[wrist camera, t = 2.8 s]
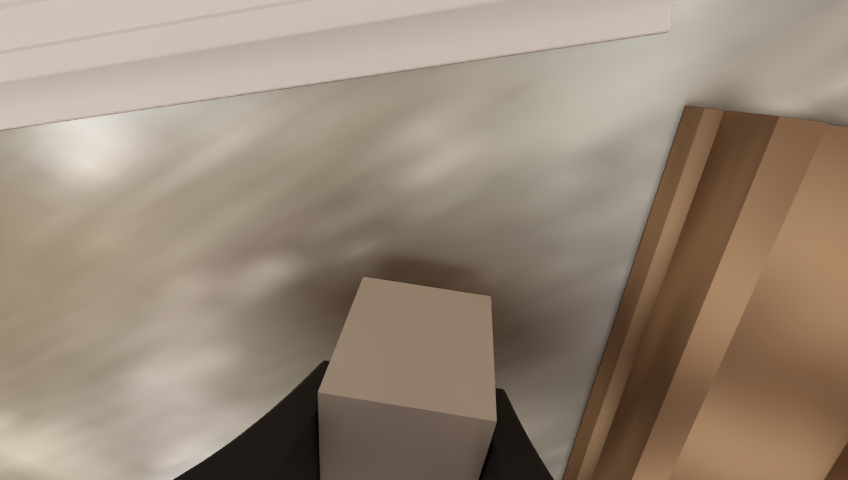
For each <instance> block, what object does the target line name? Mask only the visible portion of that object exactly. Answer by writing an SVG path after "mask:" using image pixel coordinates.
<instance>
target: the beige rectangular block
mask: <svg viewBox="0 0 848 480" xmlns="http://www.w3.org/2000/svg"><path fill="white" fill-rule="evenodd" d="M318 416H319V455H320V480H479V477H480V474H481V471H482V467H483V464H484V461H485V458H486V455H487V451H488V448H489V445H490V442H491V439H492V435H493V432H494V429H495V426H496V423H497V415H496V393H495V372H494V350H493V329H492V307H491V296H486V295H479V294H473V293H466V292H460V291H453V290H447V289H440V288H434V287H427V286H421V285H414V284H408V283H401V282H395V281H388V280H382V279H375V278H369V277H363V278H362V281H361V283H360V286H359V289H358V291H357V294H356V296H355V299H354V301H353V304H352V306H351V309H350V312H349V314H348V317H347V319H346V322H345V324H344V327H343V329H342V332H341V335H340V337H339V340H338V342H337V345H336V347H335V350H334V352H333V355H332V357H331V360H330V363H329V365H328V368H327V370H326V373H325V375H324V378H323V380H322V383H321V386H320V388H319V391H318Z"/></svg>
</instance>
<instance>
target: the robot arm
mask: <svg viewBox="0 0 848 480" xmlns="http://www.w3.org/2000/svg"><path fill="white" fill-rule="evenodd" d="M329 363H330V361H323V362H322V363H320V364H319V365H318V366H317V367H316V368H315V369H314V370H313V371H312V372H311V373H310V374H309V375H308V376H307V377H306V378H305V379H304V380H303V381H302V382H301V383H300V384H299V385H298V386H297V387H296V388H295V389H294V390H293V391H292V392H291V393H290V394H288V395H287V396H286V397H285V398H284V399H283V400H282V401H281V402H280V403H278V404H277V405H276V406H275V407H274V408H273V409H272V410H270V411H269V412H268V413H267V414H266V415H264V416H263V417H262V418H261V419H260V420H258V421H257V422H256V423H255V424H253V425H252V426H251V427H250V428H248V429H247V430H246V431H245V432H243V433H242V434H241V435H239V436H238V437H237V438H235V439H234V440H233V441H231V442H230V443H229V444H227V445H226V446H224V447H223V448H222V449H220V450H219V451H217V452H216V453H214V454H213V455H211V456H210V457H208V458H207V459H206V460H204V461H202V462H201V463H199V464H198V465H196V466H195V467H193V468H191V469H190V470H188V471H187V472H185V473H183V474H182V475H180V476H179V477H177V478H175V479H174V480H320V455H319V416H318V391H319V388H320V386H321V383H322V380H323V378H324V375H325V373H326V370H327V368H328V365H329ZM495 393H496V415H497V423H496V426H495V429H494V432H493V435H492V439H491V442H490V445H489V448H488V451H487V455H486V458H485V461H484V464H483V467H482V471H481V474H480V477H479V480H554V479H553V478H552V476H551V475H550V473H549V471H548V470H547V468H546V467H545V465H544V463H543V462H542V460H541V458H540V457H539V455H538V453H537V452H536V450H535V448H534V446H533V445H532V443H531V441H530V440H529V438H528V436H527V434H526V432H525V430H524V429H523V427H522V425H521V423H520V421H519V419H518V417H517V415H516V413H515V411H514V409H513V407H512V405H511V403H510V401H509V399H508V396H507V394H506V393H505V391H504V390H503V389H498V388H495Z"/></svg>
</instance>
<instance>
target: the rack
mask: <svg viewBox="0 0 848 480" xmlns="http://www.w3.org/2000/svg"><path fill="white" fill-rule="evenodd" d="M563 480H848V127H841V126H834V125H828V123H825V122H817V121H810V120H803V119H795V118H788V117H781V116H772V115H762V114H753V113H743V112H734V111H724V110H717V109H710V108H702V107H692V106H685V109H684V112H683V115H682V118H681V121H680V124H679V127H678V130H677V133H676V136H675V139H674V143H673V146H672V149H671V152H670V155H669V158H668V161H667V164H666V167H665V170H664V173H663V176H662V179H661V182H660V185H659V188H658V191H657V194H656V197H655V200H654V203H653V206H652V209H651V212H650V215H649V218H648V222H647V225H646V228H645V231H644V234H643V237H642V240H641V243H640V246H639V249H638V252H637V255H636V258H635V261H634V264H633V267H632V270H631V273H630V276H629V279H628V282H627V285H626V288H625V291H624V294H623V297H622V301H621V304H620V307H619V310H618V313H617V316H616V319H615V322H614V325H613V328H612V331H611V334H610V337H609V340H608V343H607V346H606V349H605V352H604V355H603V358H602V361H601V364H600V367H599V370H598V373H597V376H596V380H595V383H594V386H593V389H592V392H591V395H590V398H589V401H588V404H587V407H586V410H585V413H584V416H583V419H582V422H581V425H580V428H579V431H578V434H577V437H576V440H575V443H574V446H573V449H572V452H571V455H570V459H569V462H568V465H567V468H566V471H565V474H564V477H563Z"/></svg>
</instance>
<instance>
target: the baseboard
mask: <svg viewBox="0 0 848 480" xmlns="http://www.w3.org/2000/svg"><path fill="white" fill-rule="evenodd" d="M673 1H674V0H0V131H1V130H8V129H15V128H21V127H28V126H35V125H42V124H49V123H55V122H62V121H69V120H76V119H83V118H89V117H96V116H103V115H110V114H116V113H123V112H130V111H137V110H144V109H150V108H157V107H164V106H171V105H178V104H184V103H191V102H198V101H205V100H212V99H218V98H225V97H232V96H239V95H246V94H252V93H259V92H266V91H273V90H280V89H286V88H293V87H300V86H307V85H313V84H320V83H327V82H334V81H341V80H347V79H354V78H361V77H368V76H375V75H381V74H388V73H395V72H402V71H409V70H415V69H422V68H429V67H436V66H443V65H449V64H456V63H463V62H470V61H476V60H483V59H490V58H497V57H504V56H510V55H517V54H524V53H531V52H538V51H544V50H551V49H558V48H565V47H572V46H578V45H585V44H592V43H599V42H606V41H612V40H619V39H626V38H633V37H640V36H646V35H653V34H660V33H666V32H669V31H670V30H671V12H672V6H673Z"/></svg>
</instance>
